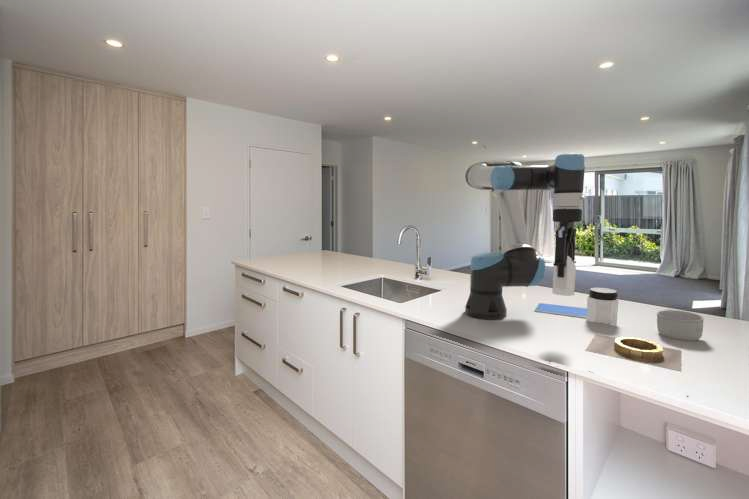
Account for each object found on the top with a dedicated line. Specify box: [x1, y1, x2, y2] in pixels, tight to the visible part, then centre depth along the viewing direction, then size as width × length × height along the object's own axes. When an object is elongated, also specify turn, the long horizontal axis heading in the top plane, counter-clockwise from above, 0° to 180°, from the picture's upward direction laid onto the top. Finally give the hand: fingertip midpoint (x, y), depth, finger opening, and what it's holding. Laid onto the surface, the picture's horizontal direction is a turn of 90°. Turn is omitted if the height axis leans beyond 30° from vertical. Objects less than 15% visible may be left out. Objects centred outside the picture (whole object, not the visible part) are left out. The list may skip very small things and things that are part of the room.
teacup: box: [656, 308, 705, 342], centre depth 110 cm, size 14×11×8 cm
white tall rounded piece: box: [552, 256, 577, 297], centre depth 107 cm, size 6×12×6 cm
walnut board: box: [585, 333, 682, 372], centre depth 98 cm, size 20×16×2 cm
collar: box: [614, 336, 664, 360], centre depth 97 cm, size 10×10×2 cm
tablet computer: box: [533, 302, 587, 319], centre depth 140 cm, size 19×13×1 cm, turn 58°
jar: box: [585, 287, 619, 327], centre depth 123 cm, size 9×8×12 cm
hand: (563, 286), depth 107 cm, fingers closed on white tall rounded piece, 6 cm apart
